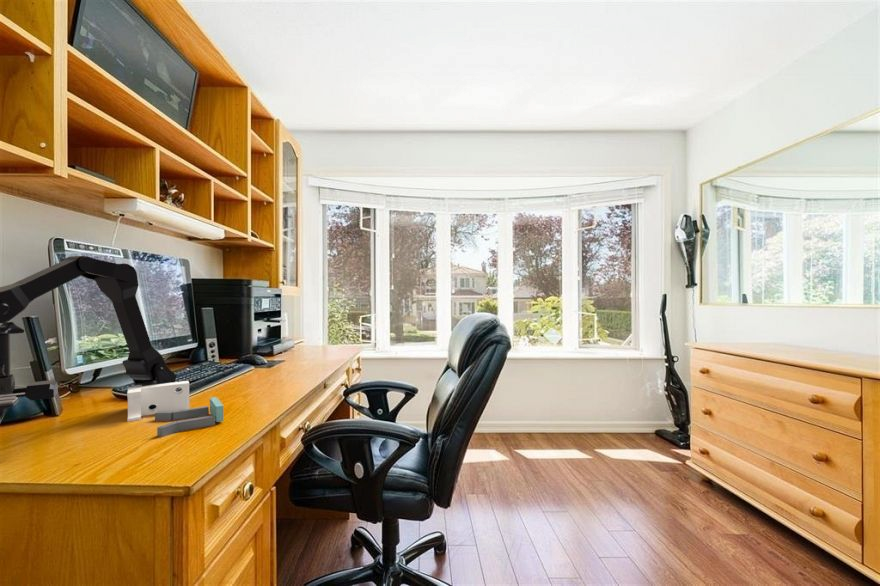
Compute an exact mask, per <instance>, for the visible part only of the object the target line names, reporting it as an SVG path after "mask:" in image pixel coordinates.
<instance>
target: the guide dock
mask: <svg viewBox="0 0 880 586" xmlns="http://www.w3.org/2000/svg"><path fill="white" fill-rule="evenodd" d="M154 421H155V422H157V421H161V422H162V421H164V422H165V421H166V422H168V421H169V423H165V424H163V425H159V426H157V428H156V431H157V432H156V434H157V436H156V437H161V438H164V437H166V436H169V435H171V434H175V433H178V432H183V431H184V432H185V431H189V430H194V429H201V428H205V427H211V426H212V427H213V426H216V421H215V416H214V415H212V414H210V406H208V405H205V406H197V407H191V408H189V409H184V410H178V411H159V412H156V413H155V414H154ZM171 421H172V422H171Z"/></svg>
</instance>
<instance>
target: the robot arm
mask: <svg viewBox="0 0 880 586" xmlns="http://www.w3.org/2000/svg"><path fill="white" fill-rule="evenodd" d="M79 277H82V278H84V279H88V280H92V281H94V282H95V283H96V285H97V287H98V288H99V290H100V292H102V293H103V294H104V295H105V297H107V298H108V299H109V300H110V301H111V303H112V305H113V308H114V311H115V314H116V317H117V320H118V322H119V326H120V329H121V332H122V334H123V337H124V340H125V342H126V345H127V348H128V350H129V352H128V356H127V359H124V360H123V361H122V365H123V367H124V370H125V376H126V375H127V376H129V377H130V379H132V381H133V384H134V386H147V385H155V384H164V383H173V382H176V379H177V374H176V373H175V372H173V371H172V370H171V369H170V368H169V367H168V365H167V363H166V361H165V359H164V357H163V355H162V354H161V352H159V351H158V350H157V349H156V348H155V347H154V346H153V345H152V342H151V340H150V336H149V334H148V333H149V332H148V330H147V327H146V324H145V321H144V317H143V315H142V311H141V309H140V306H139V303H138V300H137V296H136V295H137V291H138V288H139V285H140V284H139V277H138V273H137V270H136V268H135V267H134V266H132V265H130V264H129V263H115V262H111V261H106V260H101V259H97V258H95V257H90V256H88V255H71V256H67V257H66V258H65V259H64V260H61V261H59V262H57V263H56V264H52V265H50V266H48V267H47V268H45V269H42V270H40V271H38V272H35V273H33V274H31V275H29V276H26V277H25V278H22V279H20V280H18V281H16V282H13V283H11V284H8V285H5V286H4V285H3V286H0V424H1V423H2V420H3V418H4V417H5V415H6V413H7V412H8V410H9V409H10V408H13V407H14V406H15V405H17V404H18V402H20V399H19V398H23V397H25V398H26V399H28V400H30V401H38V400H46V399H52V398H55V397H56V396H57V394H58V392H59V389H58V388H59V387H58V384H59V383H58V381H56V380H54V379H51V380H41V381H32V382H29V383H28V384H27V385H26V386H24V387H23V386H22V387H16V383H15V382H16V381H15V377H14V374H11V335H15V334H24V333H25V329H23V328H21V327H19V326H18V325H16V324H15V323H14V321H12V320H13V319H14V318H15V317H16V316H18V315H19V314H21V313H22V312H23V311H25V310H26V309H27V307H29V305H30V304H31V303H32V302H33V301H34V300H36V299H38V298H40V297H42V296H43V295H44V296H45V295H46V294H48V293H49V292H51V291H53V290H55V289H58V288H59V287H61V286H63V285H65V284H67V283H69V282H72V281H74V280H75V279H77V278H79ZM155 408H156V405H150V406H149V409H155Z"/></svg>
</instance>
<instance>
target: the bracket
mask: <svg viewBox="0 0 880 586" xmlns="http://www.w3.org/2000/svg"><path fill="white" fill-rule="evenodd" d="M178 388H180V390H179V391H176V390H177V389H178ZM126 394H127V395H126V396H127V422H135V421H142V416H149V415H155V413H156V412H159V411H178V410H184V409H190V382H189V380H182V381H175V382H173V383H164V384H155V385H147V386H142V385H137V386H129V387H128V388H127V392H126ZM150 405H156V408H155V409H149V406H150Z"/></svg>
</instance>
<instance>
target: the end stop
mask: <svg viewBox="0 0 880 586" xmlns="http://www.w3.org/2000/svg"><path fill="white" fill-rule="evenodd" d="M209 414H210V415H214V416H215V423H219V422H224V404H223V403H222V402H221V401H220V400H219V398H218V397H217V396H215V397H209Z"/></svg>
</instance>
